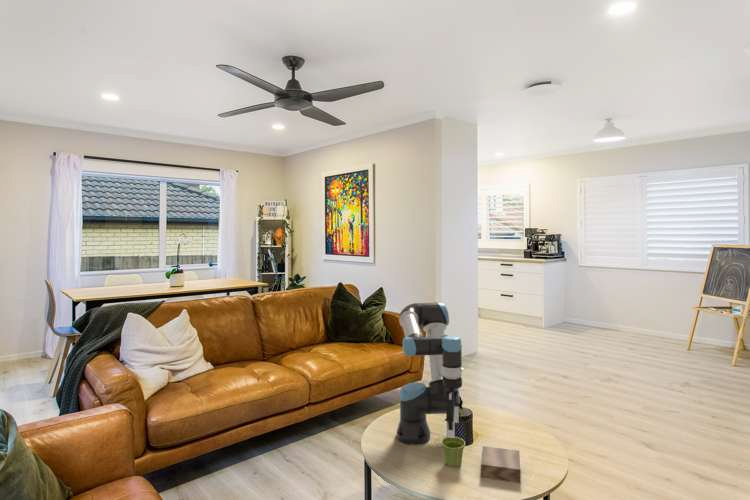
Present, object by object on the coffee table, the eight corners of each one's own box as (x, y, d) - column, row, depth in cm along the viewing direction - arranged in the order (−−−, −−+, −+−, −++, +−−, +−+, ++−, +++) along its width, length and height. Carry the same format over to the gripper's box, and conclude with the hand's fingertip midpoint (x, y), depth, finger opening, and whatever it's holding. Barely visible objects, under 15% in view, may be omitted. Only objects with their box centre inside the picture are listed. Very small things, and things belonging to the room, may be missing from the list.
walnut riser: (480, 477, 158) (480, 464, 158) (482, 458, 172) (482, 446, 172) (520, 483, 154) (520, 469, 154) (519, 463, 168) (519, 450, 167)
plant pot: (465, 471, 163) (465, 448, 163) (440, 468, 165) (440, 447, 164) (465, 458, 172) (465, 437, 172) (442, 456, 174) (441, 435, 174)
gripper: (458, 387, 154) (459, 445, 155) (464, 367, 178) (465, 417, 178) (437, 386, 156) (438, 443, 157) (446, 366, 180) (447, 415, 181)
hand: (453, 429), depth 168 cm, fingers open, 13 cm apart
